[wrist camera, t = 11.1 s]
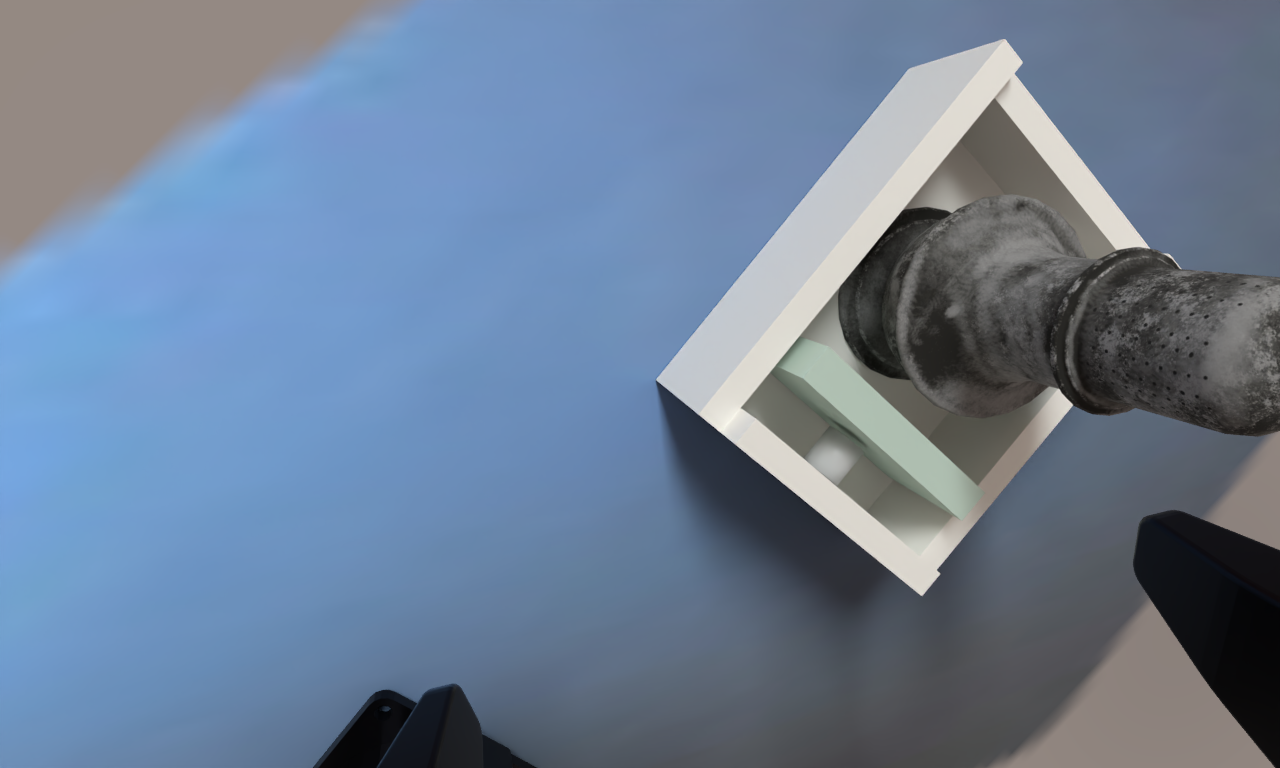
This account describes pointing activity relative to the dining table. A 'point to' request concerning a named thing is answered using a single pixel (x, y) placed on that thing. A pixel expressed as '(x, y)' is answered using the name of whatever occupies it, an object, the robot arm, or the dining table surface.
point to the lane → (827, 254)
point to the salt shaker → (1060, 321)
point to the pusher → (874, 426)
